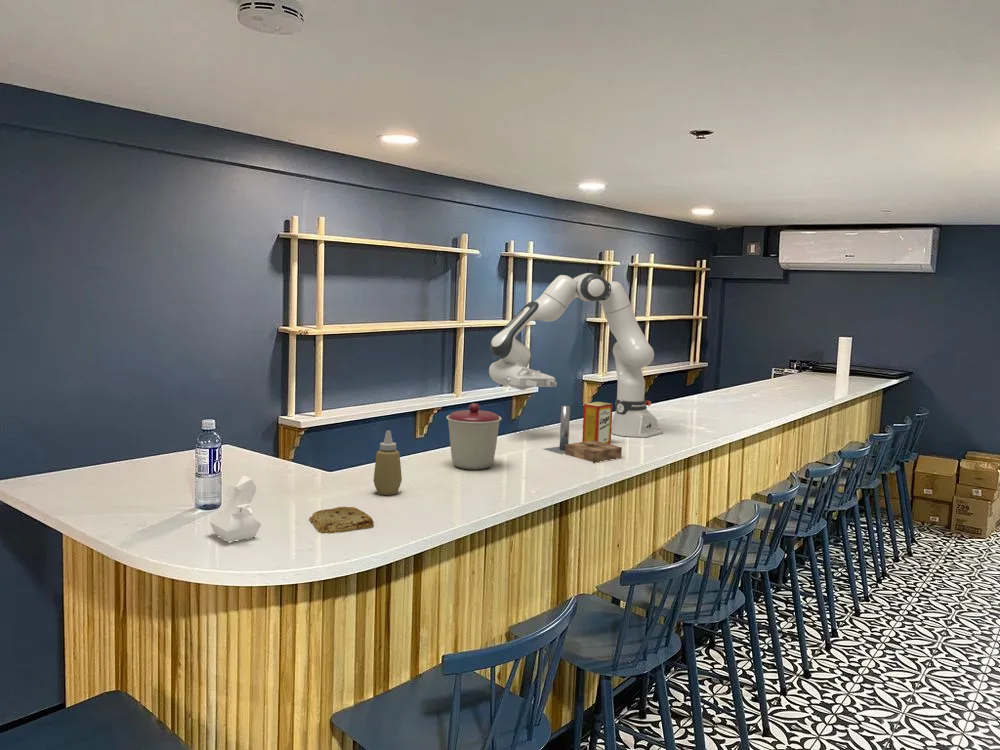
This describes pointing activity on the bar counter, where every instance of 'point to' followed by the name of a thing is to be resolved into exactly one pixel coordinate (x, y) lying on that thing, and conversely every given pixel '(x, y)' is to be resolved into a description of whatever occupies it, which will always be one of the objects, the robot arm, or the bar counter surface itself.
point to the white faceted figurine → (237, 513)
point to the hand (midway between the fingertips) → (546, 384)
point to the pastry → (341, 520)
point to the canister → (473, 437)
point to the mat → (555, 450)
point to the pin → (564, 427)
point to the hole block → (593, 451)
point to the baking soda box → (597, 422)
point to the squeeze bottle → (387, 467)
